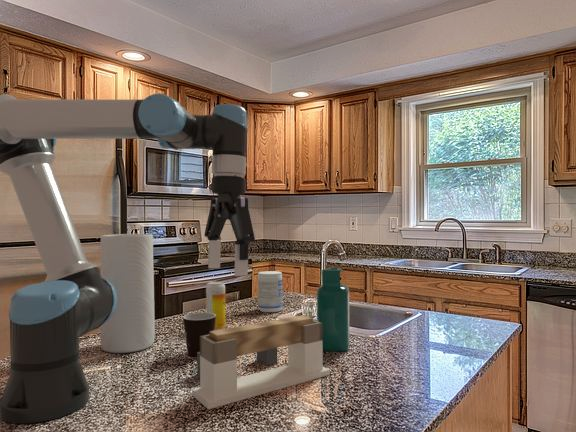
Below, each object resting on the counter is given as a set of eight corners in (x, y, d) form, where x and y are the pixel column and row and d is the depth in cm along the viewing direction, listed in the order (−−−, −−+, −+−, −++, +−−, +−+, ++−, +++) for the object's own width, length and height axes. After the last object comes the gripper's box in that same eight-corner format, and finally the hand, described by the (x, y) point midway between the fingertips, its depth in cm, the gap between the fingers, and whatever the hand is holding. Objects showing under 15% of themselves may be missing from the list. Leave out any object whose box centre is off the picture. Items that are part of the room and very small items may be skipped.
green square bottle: (320, 341, 124) (319, 265, 124) (349, 343, 123) (349, 266, 123) (315, 352, 115) (315, 270, 115) (347, 354, 113) (346, 270, 113)
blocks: (206, 380, 95) (205, 358, 95) (197, 373, 100) (197, 352, 100) (277, 363, 106) (277, 343, 106) (266, 357, 110) (266, 338, 110)
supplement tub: (284, 312, 162) (284, 273, 162) (260, 313, 160) (259, 274, 160) (280, 307, 172) (279, 270, 172) (256, 308, 170) (256, 271, 170)
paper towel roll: (95, 356, 113) (94, 236, 113) (106, 341, 127) (105, 234, 127) (152, 352, 116) (150, 235, 116) (157, 337, 130) (156, 233, 130)
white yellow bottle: (229, 328, 140) (229, 282, 140) (216, 332, 135) (216, 285, 135) (215, 326, 143) (215, 281, 143) (202, 330, 138) (202, 283, 138)
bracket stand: (208, 409, 81) (207, 346, 81) (192, 395, 88) (191, 336, 88) (329, 374, 98) (329, 322, 98) (308, 364, 105) (308, 315, 105)
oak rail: (217, 360, 85) (217, 335, 85) (209, 355, 88) (209, 331, 88) (313, 339, 98) (312, 318, 98) (303, 336, 101) (303, 315, 101)
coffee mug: (209, 360, 109) (208, 320, 109) (177, 358, 111) (177, 319, 111) (224, 346, 121) (224, 310, 121) (196, 344, 122) (195, 309, 122)
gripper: (272, 173, 87) (270, 278, 87) (220, 180, 108) (218, 264, 108) (239, 170, 83) (237, 280, 83) (192, 178, 104) (190, 266, 104)
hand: (226, 271), depth 95 cm, fingers open, 13 cm apart
